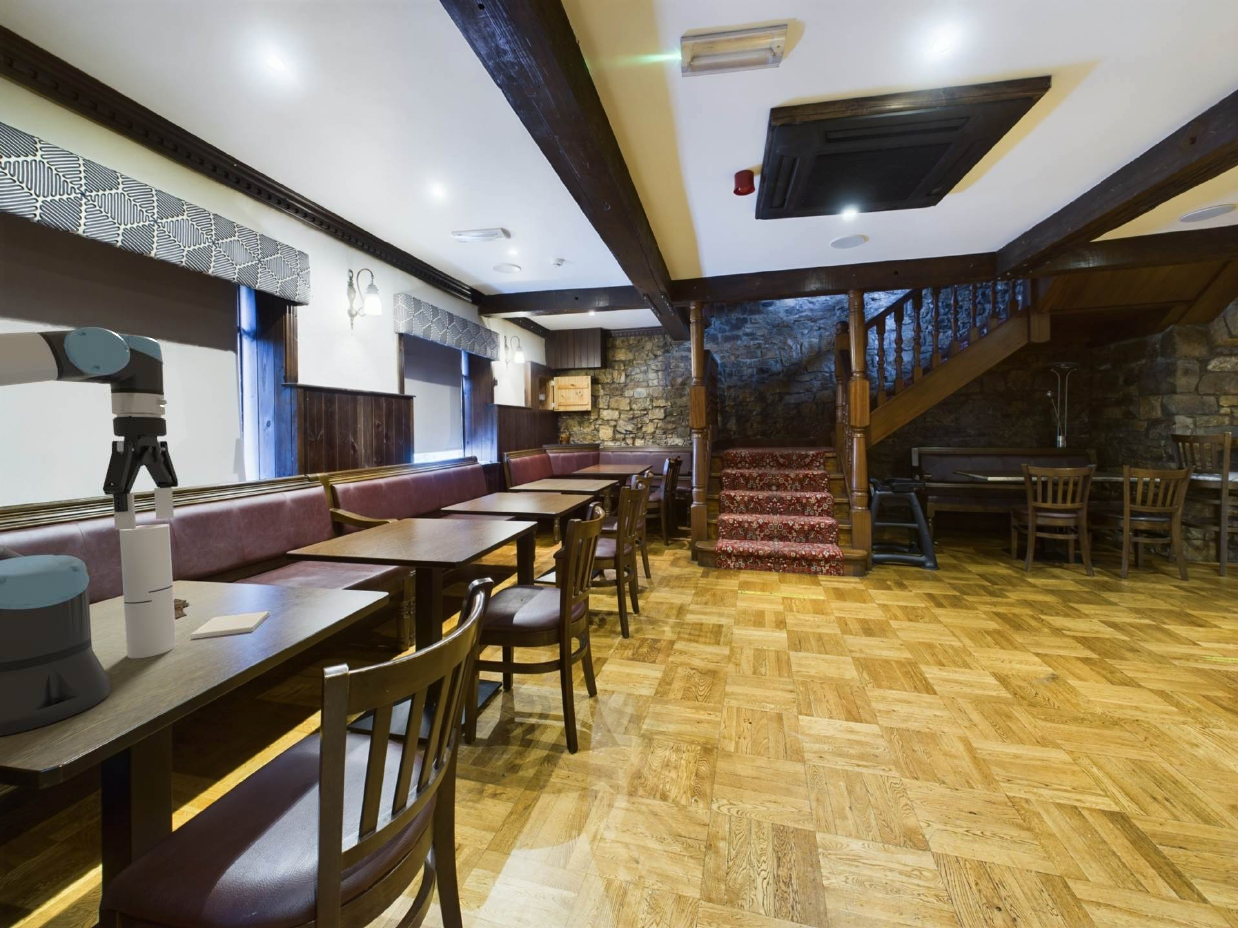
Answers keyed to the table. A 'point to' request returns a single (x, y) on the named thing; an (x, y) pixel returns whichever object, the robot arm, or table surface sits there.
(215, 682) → the table surface
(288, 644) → the table surface
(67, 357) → the robot arm
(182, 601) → the brown relief tablet
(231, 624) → the ceramic tile
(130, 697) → the table surface
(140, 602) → the cylindrical container
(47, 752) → the table surface
